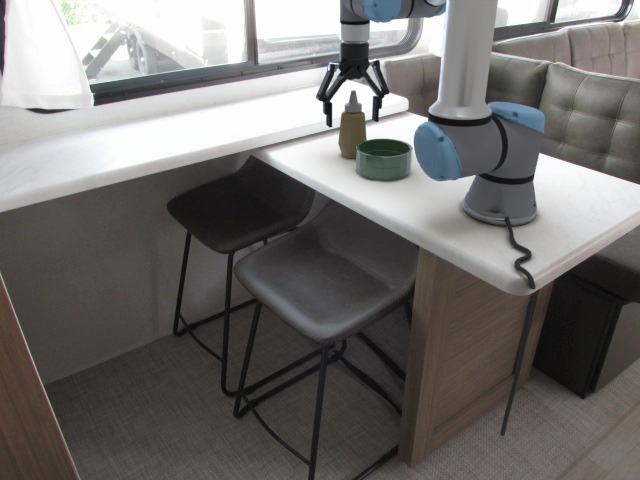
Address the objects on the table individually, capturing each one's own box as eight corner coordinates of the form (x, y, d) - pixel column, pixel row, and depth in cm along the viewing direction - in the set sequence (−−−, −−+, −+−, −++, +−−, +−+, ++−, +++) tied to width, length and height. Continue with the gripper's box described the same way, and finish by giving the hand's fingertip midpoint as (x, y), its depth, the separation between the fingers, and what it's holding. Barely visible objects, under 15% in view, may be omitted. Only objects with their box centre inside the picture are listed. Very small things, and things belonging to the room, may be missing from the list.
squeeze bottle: (368, 151, 147) (371, 87, 138) (363, 161, 140) (365, 95, 131) (341, 149, 149) (341, 86, 140) (335, 159, 142) (335, 93, 133)
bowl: (420, 177, 130) (422, 153, 127) (369, 185, 126) (369, 160, 123) (395, 158, 142) (396, 136, 138) (347, 165, 138) (348, 142, 135)
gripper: (392, 36, 136) (387, 114, 147) (303, 42, 129) (305, 124, 140) (405, 40, 130) (399, 122, 141) (312, 47, 123) (313, 132, 134)
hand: (352, 123), depth 140 cm, fingers open, 13 cm apart
